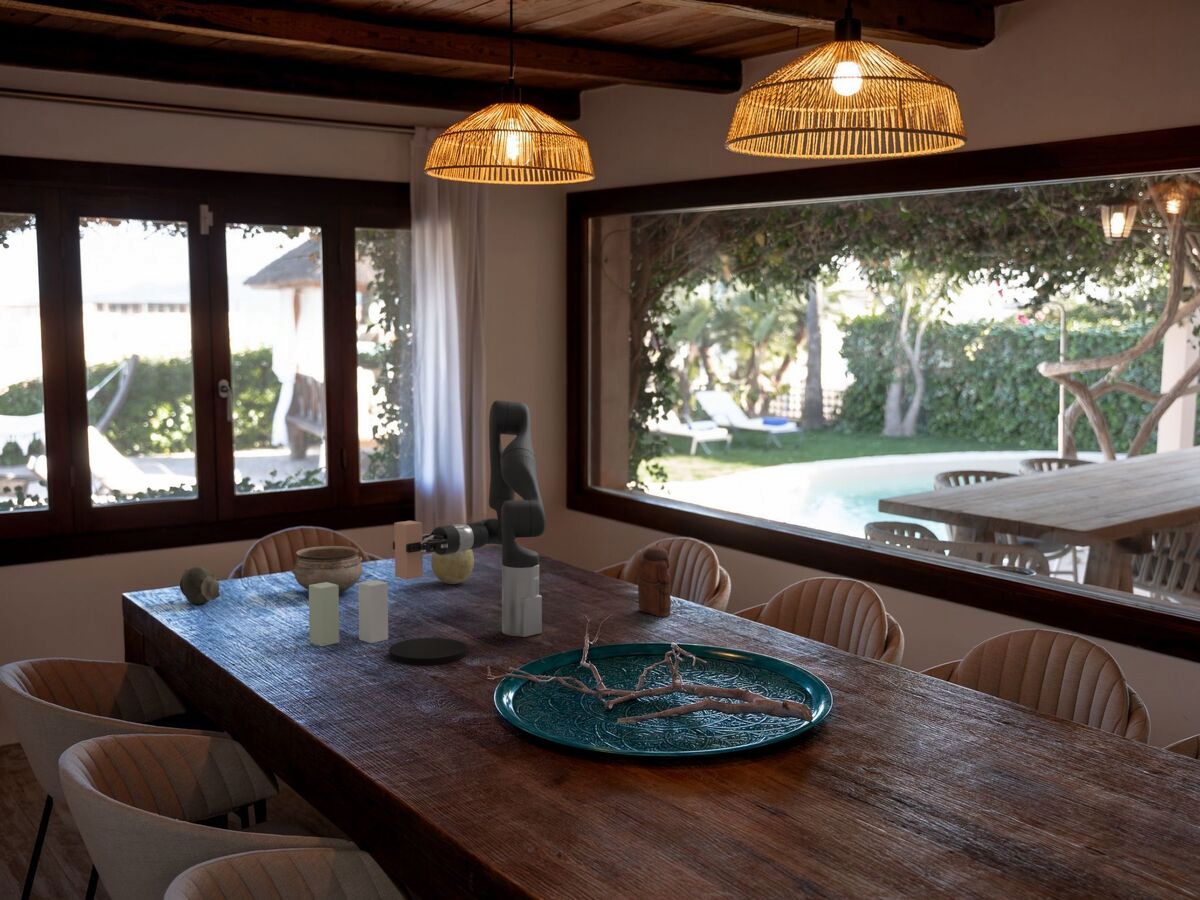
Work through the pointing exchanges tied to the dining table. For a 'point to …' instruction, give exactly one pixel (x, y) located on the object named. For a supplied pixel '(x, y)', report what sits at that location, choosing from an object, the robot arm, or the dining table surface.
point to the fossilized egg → (453, 566)
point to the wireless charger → (427, 651)
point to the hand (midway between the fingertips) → (400, 547)
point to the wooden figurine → (654, 582)
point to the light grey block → (373, 611)
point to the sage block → (324, 613)
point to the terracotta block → (405, 562)
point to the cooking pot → (328, 566)
